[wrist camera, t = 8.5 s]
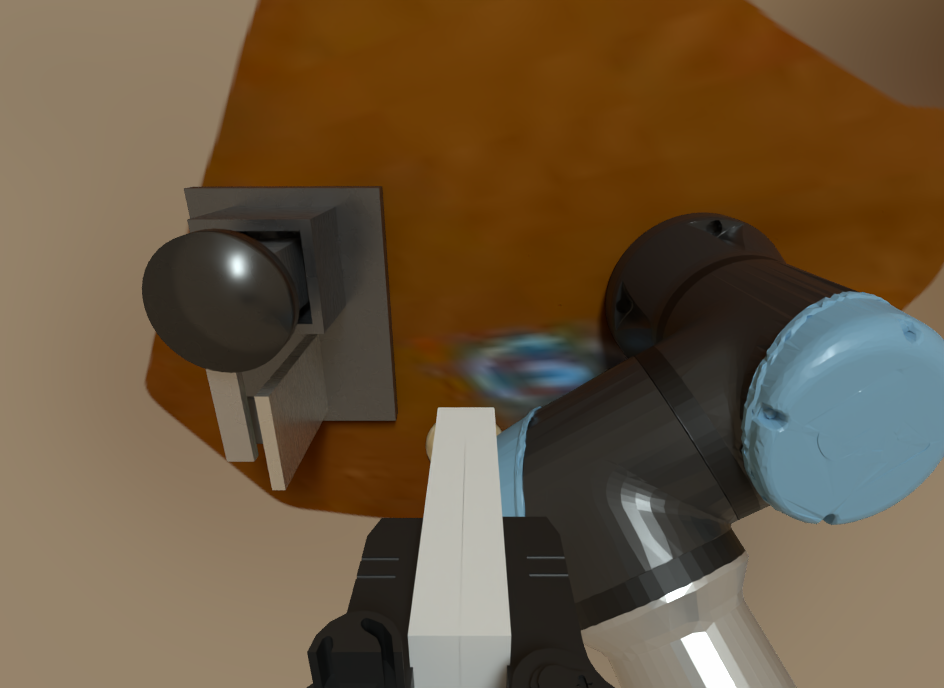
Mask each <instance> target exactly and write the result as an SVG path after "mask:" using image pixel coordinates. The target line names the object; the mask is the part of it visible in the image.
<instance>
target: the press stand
mask: <svg viewBox="0 0 944 688" xmlns="http://www.w3.org/2000/svg"><path fill="white" fill-rule="evenodd" d="M184 191H185V196H186V200H187V206H188V210H189V215H190V219H188V220H187V221H188V225H189V230H190V233H192V232H194V231H198V230H203V229H214V228H215V229H227V230H232V231H236V232H239V233H242V234H245V235H247V236H249V237H251V238H300V242H301V249H302V257H303V264H304V271H305V279H306V286H307V294H308V302H307V303H306V304H305V305H304V306H303V307H302V308H301V309H300V310H299V318H298V322H297V326H296V329H295V331H294V333H293V335H292V337H291V339H290V340H289V341H288V342H287V344H286V345H285V346H284V347H283V348H282V349H281V351H280V352H279V353H278V354H277V355H276V356H275V357H274V358H273V359H271V360H270V361H269V362H267V363H266V364H264V365H262V366H260V367H258V368H255V369H252V370H249V371H244V372H242V375H243V380H244V385H245V390H246V395H247V396H254V398H255V403H256V408H257V414H258V419H259V424H260V429H261V434H262V439H263V444H264V450H265V455H266V460H267V465H268V470H269V475H270V481H271V486H272V490H286V488H287V486H288V485H289V483H290V481H291V479H292V477H293V475H294V473H295V471H296V470H297V468H298V466H299V464H300V462H301V460H302V458H303V456H304V455H305V453H306V451H307V449H308V447H309V445H310V443H311V441H312V440H313V438H314V436H315V434H316V432H317V430H318V428H319V426H320V425H321V423H322V421H396V418H397V414H398V408H397V393H396V379H395V364H394V350H393V335H392V321H391V306H390V292H389V277H388V263H387V248H386V234H385V219H384V205H383V190H382V186H311V187H190V188H184Z"/></svg>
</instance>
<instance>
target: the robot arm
mask: <svg viewBox="0 0 944 688" xmlns="http://www.w3.org/2000/svg"><path fill="white" fill-rule="evenodd" d="M605 307H606V318H607V322H608V326H609V329H610V331H611V334H612V336H613V338H614V339H615V341H616V342H617V344H618V345H619V347H620V348H621V350H622V351H623V352H624V354H625V355H626V356H627V357H628V358H629V359H627V360H625V361H624V362H622V363H620V364H618V365H616V366H615V367H613V368H611V369H609V370H608V371H606V372H604V373H602V374H601V375H599V376H597V377H595V378H593V379H592V380H590V381H588V382H586V383H585V384H583V385H581V386H579V387H578V388H576V389H574V390H572V391H570V392H569V393H567V394H565V395H563V396H562V397H560V398H558V399H556V400H554V401H553V402H551V403H549V404H547V405H545V406H544V407H537V408H534V409H533V410H531V411H530V412H529V413H528V415H527V416H526V417H525V418H523V419H522V420H520V421H518V422H517V423H515V424H514V425H512V426H511V427H509V428H508V429H506V430H505V431H503V432H501V433H500V434H498V435H497V436H496V425H495V411H494V408H438V412H437V420H436V427H435V435H434V442H433V450H432V457H431V465H430V472H429V480H428V487H427V495H426V502H425V510H424V517H423V518H382V519H381V520H380V521H379V522H378V524H377V525H376V526H375V527H374V529H373V530H372V531H371V532H370V533H369V535H368V536H367V539H366V543H365V547H364V551H363V554H362V561H361V562H360V566H359V569H358V573H357V579H356V581H355V585H354V588H353V592H352V596H351V599H350V603H349V607H348V611H347V613H346V614H344V615H343V616H341V617H339V618H337V619H335V620H333V621H331V622H329V623H328V624H327V626H325V627H324V628H323V629H322V630H321V631H320V632H319V633H318V634H317V635H316V636H315V638H314V640H313V642H312V644H311V646H310V648H309V650H308V652H307V653H308V659H309V664H310V669H311V674H312V680H313V684H311V685H310V686H308V687H307V688H615V687H613V686H612V685H610V684H609V683H608V682H606V681H605V680H604V679H603V678H602V677H601V675H600V674H599V673H598V672H597V671H596V670H595V668H594V667H593V665H592V664H591V662H590V660H589V659H588V656H587V653H586V650H585V648H584V644H585V645H587V646H589V647H591V648H593V649H595V650H597V651H599V652H601V653H602V654H603V655H604V656H606V657H607V658H608V659H609V662H610V664H611V666H612V668H613V670H614V672H615V675H616V677H617V679H618V681H619V683H620V685H621V688H797V687H796V685H795V684H794V682H793V680H792V679H791V677H790V675H789V674H788V672H787V670H786V669H785V667H784V665H783V664H782V662H781V660H780V659H779V657H778V655H777V654H776V652H775V650H774V649H773V647H772V645H771V644H770V642H769V640H768V639H767V637H766V636H765V634H764V632H763V630H762V629H761V627H760V625H759V624H758V622H757V621H756V619H755V617H754V616H753V614H752V612H751V611H750V609H749V607H748V606H747V604H746V602H745V601H744V598H743V591H742V587H743V582H744V577H745V572H746V566H747V562H748V557H749V556H748V554H747V552H746V550H745V549H744V547H743V546H742V544H741V543H740V541H739V540H738V538H737V536H736V535H735V533H734V532H733V530H732V528H731V524H732V523H733V522H735V521H737V520H740V519H741V518H744V517H746V516H748V515H750V514H752V513H754V512H757V511H759V510H761V509H763V508H765V507H768V506H770V505H771V506H772V507H773V508H774V509H775V510H777V511H781V512H782V513H784V514H786V515H788V516H790V517H792V518H794V519H797V520H800V521H803V522H806V523H814V524H817V523H819V522H820V521H821V520H824V521H825V522H826V523H828V524H831V525H837V524H846V523H851V522H855V521H858V520H861V519H864V518H868V517H870V516H873V515H875V514H877V513H880V512H882V511H884V510H886V509H887V508H890V507H891V506H893V505H894V504H896V503H898V502H899V501H901V500H902V499H904V498H905V497H906V496H908V495H909V494H910V493H911V492H913V491H914V490H915V489H916V488H917V487H918V486H919V485H920V484H922V483H923V482H924V480H925V479H926V478H927V477H929V475H930V474H931V473H932V472H933V471H934V469H935V468H936V467H937V465H938V464H939V462H940V461H941V460H942V458H943V457H944V340H943V339H942V337H941V336H940V335H939V334H938V333H937V332H935V331H934V330H933V329H931V328H930V327H929V326H927V325H926V324H924V323H923V322H921V321H919V320H917V319H915V318H913V317H911V316H909V315H908V314H906V313H904V312H902V311H900V310H898V309H897V308H895V307H893V306H891V305H890V303H889V302H887V301H885V300H883V299H882V298H880V297H877V296H875V295H873V294H866V293H864V292H861V293H860V292H857V291H855V290H852V289H850V288H847V287H844V286H842V285H839V284H837V283H834V282H832V281H829V280H826V279H824V278H821V277H819V276H816V275H814V274H811V273H809V272H806V271H804V270H801V269H799V268H796V267H794V266H791V265H788V264H786V262H785V261H784V259H783V258H782V256H781V255H780V253H779V252H778V250H777V249H776V247H775V246H774V244H773V243H772V242H771V241H770V240H769V239H768V238H767V237H766V236H765V235H764V234H763V233H762V232H760V231H759V230H758V229H756V228H754V227H753V226H751V225H749V224H747V223H745V222H743V221H740V220H737V219H734V218H731V217H728V216H724V215H720V214H714V213H692V214H686V215H681V216H678V217H674V218H671V219H669V220H666V221H664V222H662V223H660V224H658V225H656V226H654V227H653V228H651V229H649V230H648V231H647V232H645V233H644V234H643V235H641V236H640V237H639V238H638V239H637V240H636V241H635V242H633V243H632V245H631V246H630V247H629V248H628V249H627V250H626V251H625V253H624V254H623V255H622V257H621V258H620V260H619V261H618V263H617V265H616V267H615V269H614V271H613V273H612V275H611V278H610V281H609V284H608V288H607V293H606V304H605Z"/></svg>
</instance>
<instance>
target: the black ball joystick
mask: <svg viewBox="0 0 944 688" xmlns="http://www.w3.org/2000/svg"><path fill="white" fill-rule="evenodd" d="M142 295H143V302H144V306H145V310H146V313H147V316H148V318H149V320H150V322H151V324H152V326H153V328H154V329H155V331H156V332H157V334H158V335H159V336H160V338H161V339H162V340H163V341H164V342H165V343H166V344H167V345H168V346H169V347H170V348H171V349H172V350H173V351H174V352H176V353H177V354H178V355H180V356H181V357H183V358H184V359H186V360H187V361H189V362H191V363H193V364H195V365H197V366H200V367H202V368H205V369H206V372H207V376H208V381H209V385H210V389H211V394H212V398H213V402H214V407H215V411H216V415H217V420H218V424H219V428H220V432H221V437H222V441H223V445H224V450H225V454H226V458H227V461H255V460H256V458H257V457H258V450H257V445H256V440H255V435H254V430H253V425H252V420H251V415H250V410H249V405H248V400H247V395H246V390H245V385H244V380H243V375H242V372H244V371H249V370H252V369H255V368H258V367H260V366H262V365H264V364H266V363H267V362H269V361H270V360H271V359H273V358H274V357H275V356H276V355H277V354H278V353H279V352H280V351H281V349H282V348H283V347H284V346H285V345H286V344H287V342H288V341H289V340H290V339H291V337H292V335H293V333H294V331H295V329H296V326H297V322H298V318H299V310H300V309H301V308H302V307H303V306H304V305H305V304H306V303H307V302H308V294H307V286H306V279H305V271H304V264H303V257H302V249H301V242H300V238H251V237H249V236H247V235H245V234H242V233H239V232H236V231H232V230H227V229H215V228H214V229H203V230H198V231H194V232H192V233H189V234H186V235H183V236H180V237H177V238H175V239H173V240H171V241H169V242H167V243H166V244H164V245H163V246H162V247H161V248H159V249H158V250H157V251H156V253H155V254H154V255H153V256H152V258H151V259H150V261H149V262H148V265H147V267H146V269H145V273H144V277H143V284H142Z"/></svg>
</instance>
